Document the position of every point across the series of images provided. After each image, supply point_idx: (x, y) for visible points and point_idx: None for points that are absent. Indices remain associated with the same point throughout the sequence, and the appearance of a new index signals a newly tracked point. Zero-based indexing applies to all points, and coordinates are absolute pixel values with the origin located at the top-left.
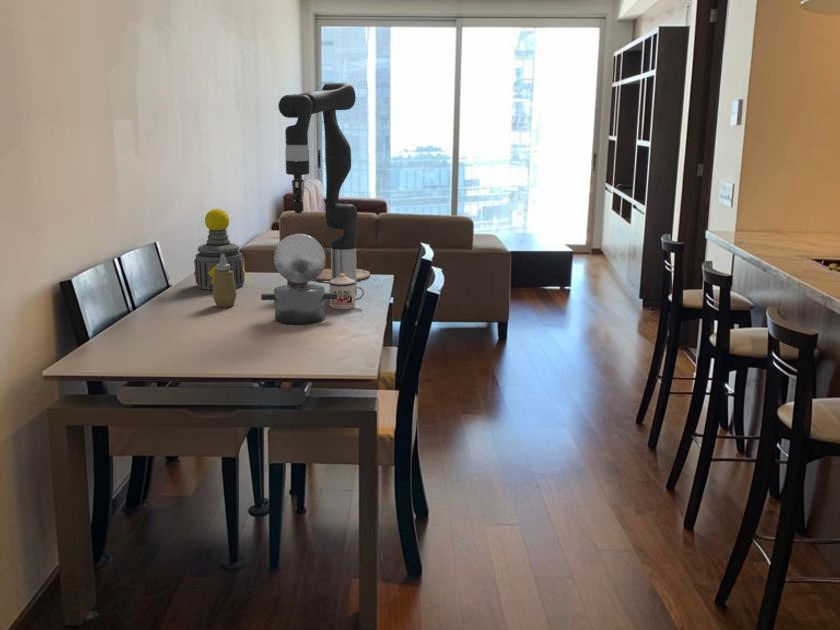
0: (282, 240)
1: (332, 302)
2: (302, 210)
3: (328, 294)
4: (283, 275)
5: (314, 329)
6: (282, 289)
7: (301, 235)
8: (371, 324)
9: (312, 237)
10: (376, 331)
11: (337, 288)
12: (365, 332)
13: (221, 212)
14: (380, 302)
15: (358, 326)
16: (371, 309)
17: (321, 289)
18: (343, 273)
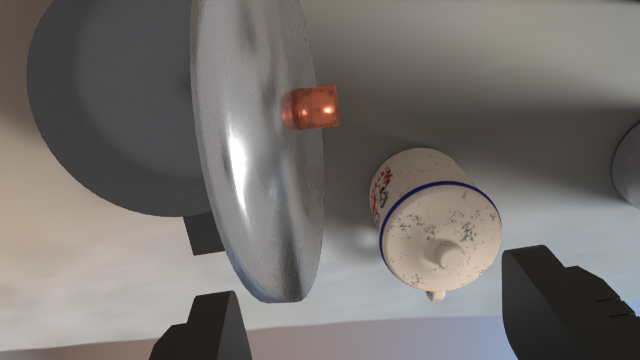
0: (199, 21)
1: (387, 170)
2: (508, 337)
3: (185, 222)
4: None
5: (44, 156)
6: (123, 15)
7: (215, 219)
8: (160, 317)
9: (271, 285)
10: (73, 341)
11: (382, 220)
12: (52, 314)
13: None
14: (492, 303)
15: (124, 285)
16: (378, 290)
17: (164, 207)
18: (460, 265)
